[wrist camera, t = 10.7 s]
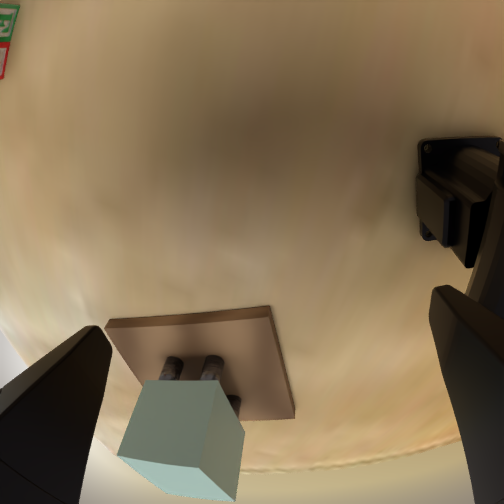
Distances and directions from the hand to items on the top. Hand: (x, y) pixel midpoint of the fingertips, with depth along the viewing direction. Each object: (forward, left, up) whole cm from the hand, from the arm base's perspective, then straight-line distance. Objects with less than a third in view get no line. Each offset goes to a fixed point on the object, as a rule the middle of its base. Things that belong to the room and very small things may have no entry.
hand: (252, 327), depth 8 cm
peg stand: (+9, +16, -12) cm, 22 cm away
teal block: (+9, +16, -8) cm, 20 cm away
